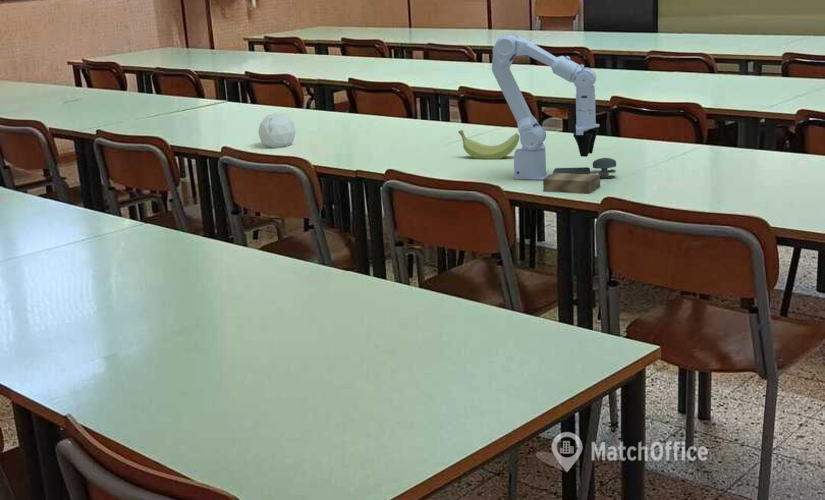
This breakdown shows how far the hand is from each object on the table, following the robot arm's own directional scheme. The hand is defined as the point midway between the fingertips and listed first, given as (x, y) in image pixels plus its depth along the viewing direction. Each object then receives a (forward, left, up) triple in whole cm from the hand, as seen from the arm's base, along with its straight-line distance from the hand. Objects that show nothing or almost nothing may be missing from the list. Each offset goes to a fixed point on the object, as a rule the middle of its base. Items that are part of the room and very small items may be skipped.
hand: (586, 154), depth 321 cm
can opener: (-1, 0, -7) cm, 7 cm away
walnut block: (0, -16, -7) cm, 18 cm away
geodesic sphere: (-129, +31, -7) cm, 133 cm away
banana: (-32, +23, -5) cm, 39 cm away
